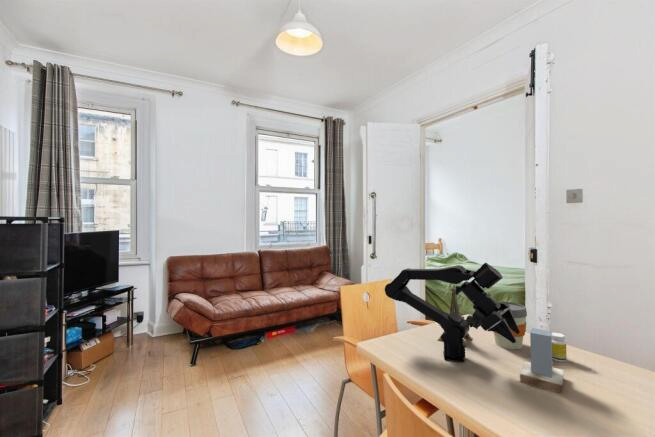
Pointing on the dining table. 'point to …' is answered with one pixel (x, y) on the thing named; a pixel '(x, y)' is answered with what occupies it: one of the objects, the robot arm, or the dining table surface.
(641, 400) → the dining table surface
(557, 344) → the supplement bottle
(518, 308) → the reusable coffee cup
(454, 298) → the eiffel tower
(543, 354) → the slate block
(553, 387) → the plinth
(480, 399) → the dining table surface
